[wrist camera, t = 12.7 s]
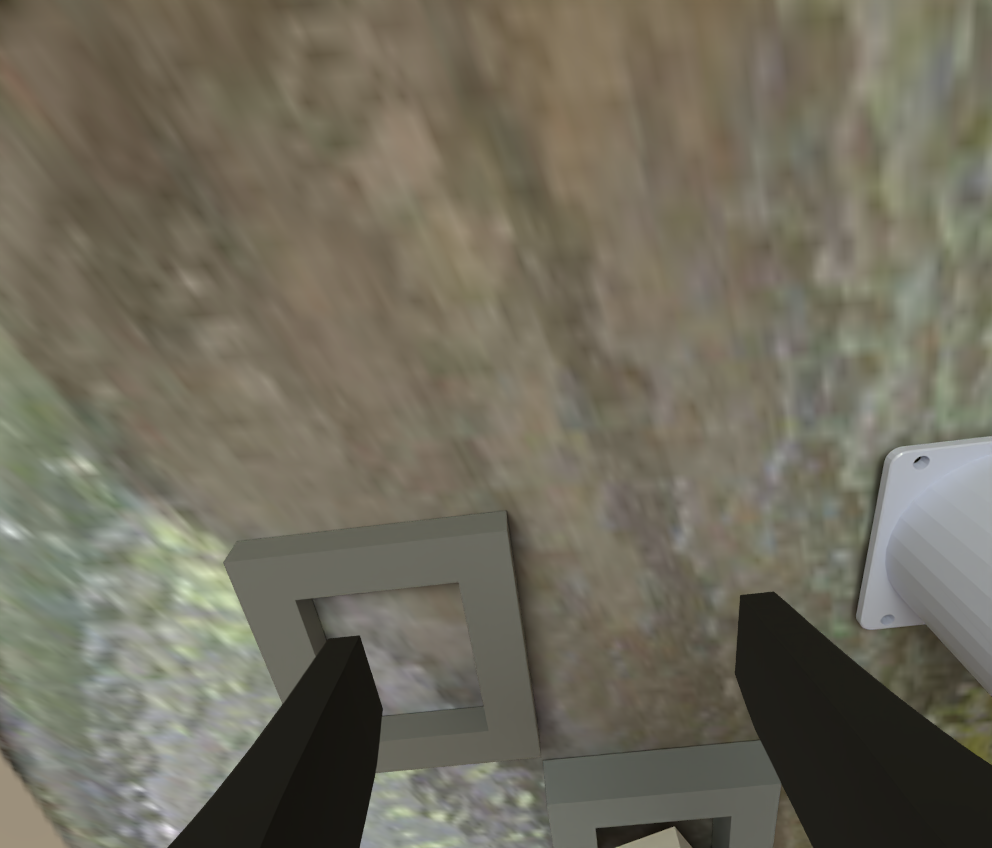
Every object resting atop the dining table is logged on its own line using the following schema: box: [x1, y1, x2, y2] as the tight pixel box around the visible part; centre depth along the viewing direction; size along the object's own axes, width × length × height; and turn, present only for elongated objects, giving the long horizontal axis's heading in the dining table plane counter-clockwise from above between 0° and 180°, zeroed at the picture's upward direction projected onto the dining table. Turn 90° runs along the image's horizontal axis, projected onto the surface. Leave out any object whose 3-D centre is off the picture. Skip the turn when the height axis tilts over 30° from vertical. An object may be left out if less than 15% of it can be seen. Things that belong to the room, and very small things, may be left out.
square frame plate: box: [223, 511, 541, 773], centre depth 23 cm, size 10×12×1 cm
